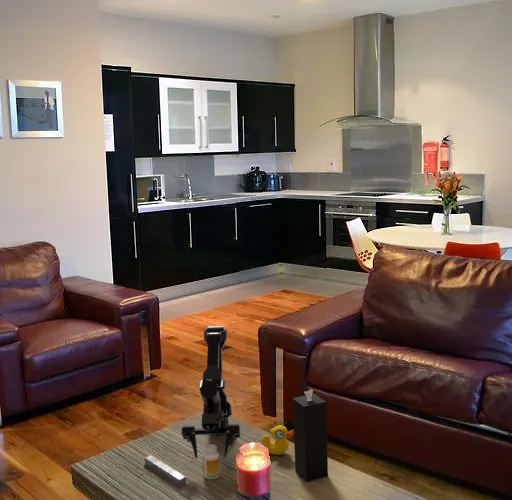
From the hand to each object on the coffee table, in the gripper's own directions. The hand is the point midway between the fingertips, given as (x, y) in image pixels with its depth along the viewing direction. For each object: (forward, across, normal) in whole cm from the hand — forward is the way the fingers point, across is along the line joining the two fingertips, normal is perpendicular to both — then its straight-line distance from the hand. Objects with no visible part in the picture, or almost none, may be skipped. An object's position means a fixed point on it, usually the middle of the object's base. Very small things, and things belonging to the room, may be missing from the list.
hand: (210, 457), depth 200 cm
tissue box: (+5, +32, +5) cm, 33 cm away
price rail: (+2, -16, +7) cm, 17 cm away
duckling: (-6, +21, +15) cm, 27 cm away
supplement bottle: (+4, 0, +6) cm, 7 cm away
